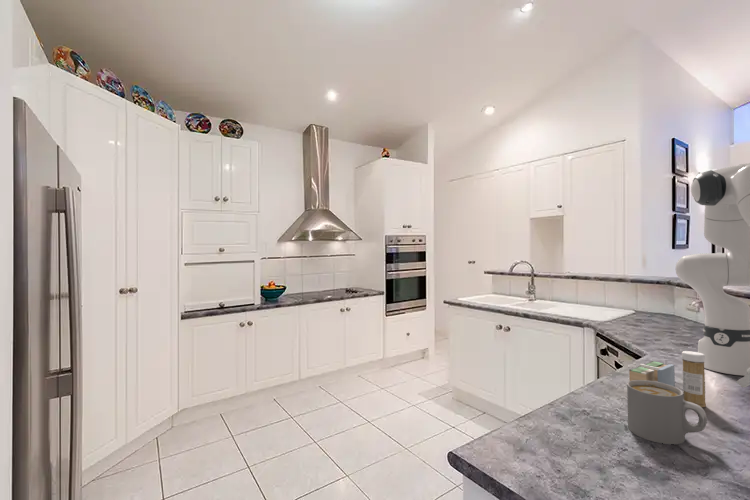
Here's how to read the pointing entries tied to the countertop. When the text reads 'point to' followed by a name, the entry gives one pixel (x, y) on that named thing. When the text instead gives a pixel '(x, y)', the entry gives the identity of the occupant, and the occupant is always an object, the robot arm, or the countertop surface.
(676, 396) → the coffee mug
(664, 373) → the gauge plunger
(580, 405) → the countertop surface
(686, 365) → the sprinkles bottle
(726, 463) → the countertop surface
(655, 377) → the tan and green block
